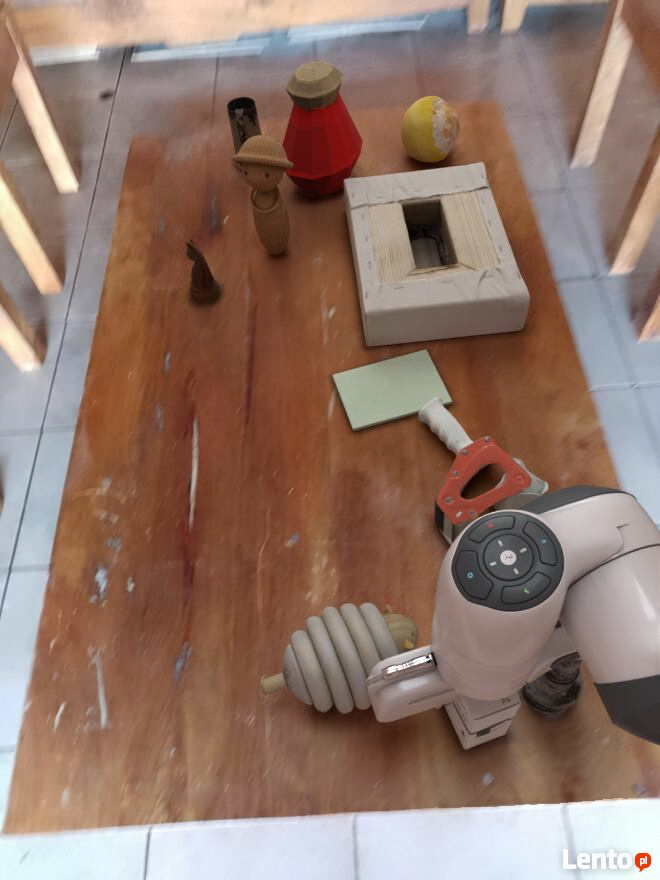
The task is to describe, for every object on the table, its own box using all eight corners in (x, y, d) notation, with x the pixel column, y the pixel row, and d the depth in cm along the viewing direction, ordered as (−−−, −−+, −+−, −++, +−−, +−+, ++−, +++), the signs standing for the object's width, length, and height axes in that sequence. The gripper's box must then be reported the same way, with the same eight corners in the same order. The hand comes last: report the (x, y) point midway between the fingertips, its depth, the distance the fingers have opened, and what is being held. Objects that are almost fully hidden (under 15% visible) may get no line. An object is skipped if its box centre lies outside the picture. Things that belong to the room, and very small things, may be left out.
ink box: (428, 672, 76) (432, 633, 67) (470, 656, 77) (480, 615, 67) (462, 752, 72) (472, 723, 62) (507, 734, 72) (524, 702, 63)
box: (527, 332, 103) (479, 195, 122) (535, 293, 97) (483, 154, 115) (367, 354, 104) (343, 213, 122) (364, 316, 97) (340, 174, 116)
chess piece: (209, 279, 115) (194, 228, 107) (228, 294, 112) (215, 244, 104) (186, 294, 113) (169, 243, 105) (204, 310, 111) (189, 259, 103)
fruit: (405, 177, 126) (405, 124, 118) (397, 142, 132) (397, 89, 124) (463, 170, 126) (467, 117, 118) (452, 136, 132) (456, 83, 124)
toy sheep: (438, 685, 76) (444, 650, 66) (293, 761, 72) (278, 735, 63) (391, 601, 81) (390, 558, 72) (254, 668, 78) (235, 631, 69)
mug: (237, 153, 134) (224, 91, 124) (266, 150, 134) (256, 88, 124) (235, 179, 130) (222, 117, 120) (265, 176, 129) (255, 113, 120)
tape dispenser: (424, 411, 98) (384, 532, 86) (424, 384, 94) (382, 508, 82) (556, 435, 93) (533, 566, 82) (562, 407, 89) (539, 542, 78)
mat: (426, 351, 102) (426, 349, 102) (452, 403, 97) (452, 401, 96) (332, 377, 101) (332, 374, 101) (353, 431, 95) (353, 428, 95)
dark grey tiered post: (517, 658, 77) (534, 616, 67) (573, 663, 76) (599, 621, 66) (519, 715, 73) (537, 680, 63) (578, 720, 72) (606, 686, 63)
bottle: (323, 147, 133) (313, 36, 117) (380, 172, 127) (378, 59, 111) (265, 191, 127) (246, 80, 111) (322, 219, 121) (311, 106, 105)
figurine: (244, 262, 116) (220, 151, 100) (259, 233, 120) (237, 122, 104) (297, 269, 115) (281, 157, 98) (310, 239, 118) (296, 127, 102)
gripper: (376, 717, 56) (380, 754, 68) (615, 640, 58) (580, 689, 70) (353, 642, 60) (360, 690, 71) (578, 572, 62) (550, 629, 73)
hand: (470, 689), depth 71 cm, fingers closed on ink box, 5 cm apart
